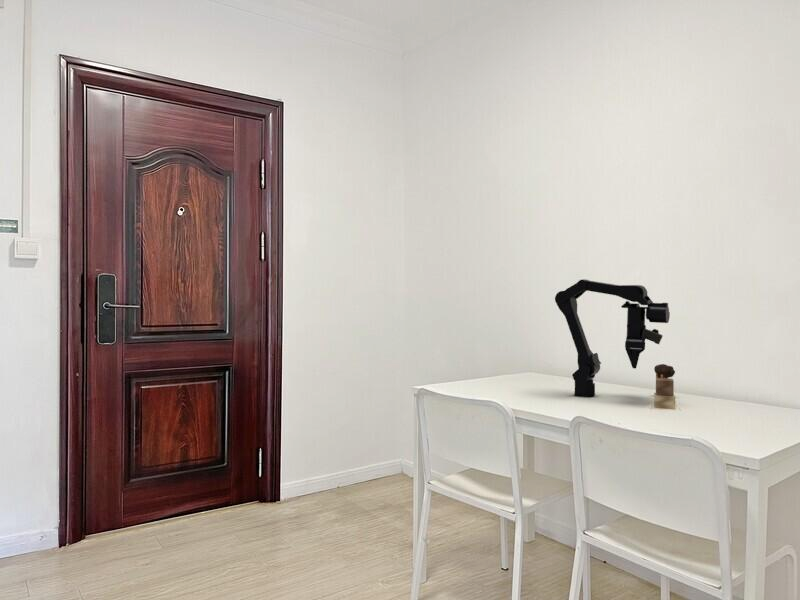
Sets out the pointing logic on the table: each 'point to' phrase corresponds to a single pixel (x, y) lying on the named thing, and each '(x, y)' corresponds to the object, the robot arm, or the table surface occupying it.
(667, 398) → the oak base block
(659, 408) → the mat
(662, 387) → the walnut cube
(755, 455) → the table surface
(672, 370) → the figurine
